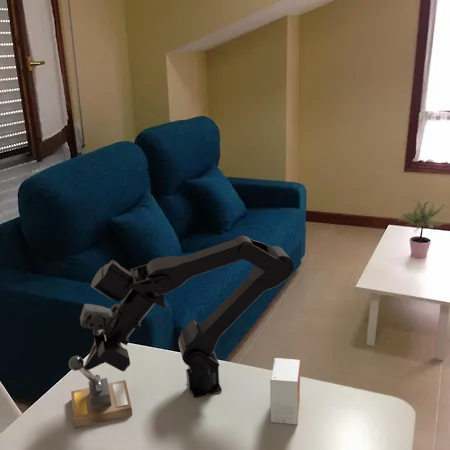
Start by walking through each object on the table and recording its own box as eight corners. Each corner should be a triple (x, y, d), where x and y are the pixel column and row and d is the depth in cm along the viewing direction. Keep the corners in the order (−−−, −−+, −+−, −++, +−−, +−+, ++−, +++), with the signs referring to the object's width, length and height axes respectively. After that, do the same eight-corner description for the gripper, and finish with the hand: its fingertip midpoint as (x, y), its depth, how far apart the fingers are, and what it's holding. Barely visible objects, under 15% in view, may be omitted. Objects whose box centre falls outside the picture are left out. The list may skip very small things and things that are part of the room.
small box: (297, 425, 110) (298, 382, 106) (270, 422, 111) (269, 379, 107) (300, 400, 117) (300, 359, 114) (274, 397, 118) (274, 356, 115)
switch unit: (126, 387, 124) (123, 368, 122) (132, 414, 115) (130, 395, 113) (72, 398, 120) (69, 380, 119) (74, 428, 111) (71, 408, 110)
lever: (104, 374, 118) (76, 347, 114) (106, 387, 114) (77, 360, 110) (93, 382, 118) (65, 356, 114) (95, 396, 113) (66, 370, 109)
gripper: (95, 273, 117) (53, 328, 118) (103, 314, 101) (53, 377, 102) (136, 298, 122) (95, 351, 123) (150, 340, 105) (102, 401, 106)
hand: (86, 368), depth 114 cm, fingers closed, pressing on lever
